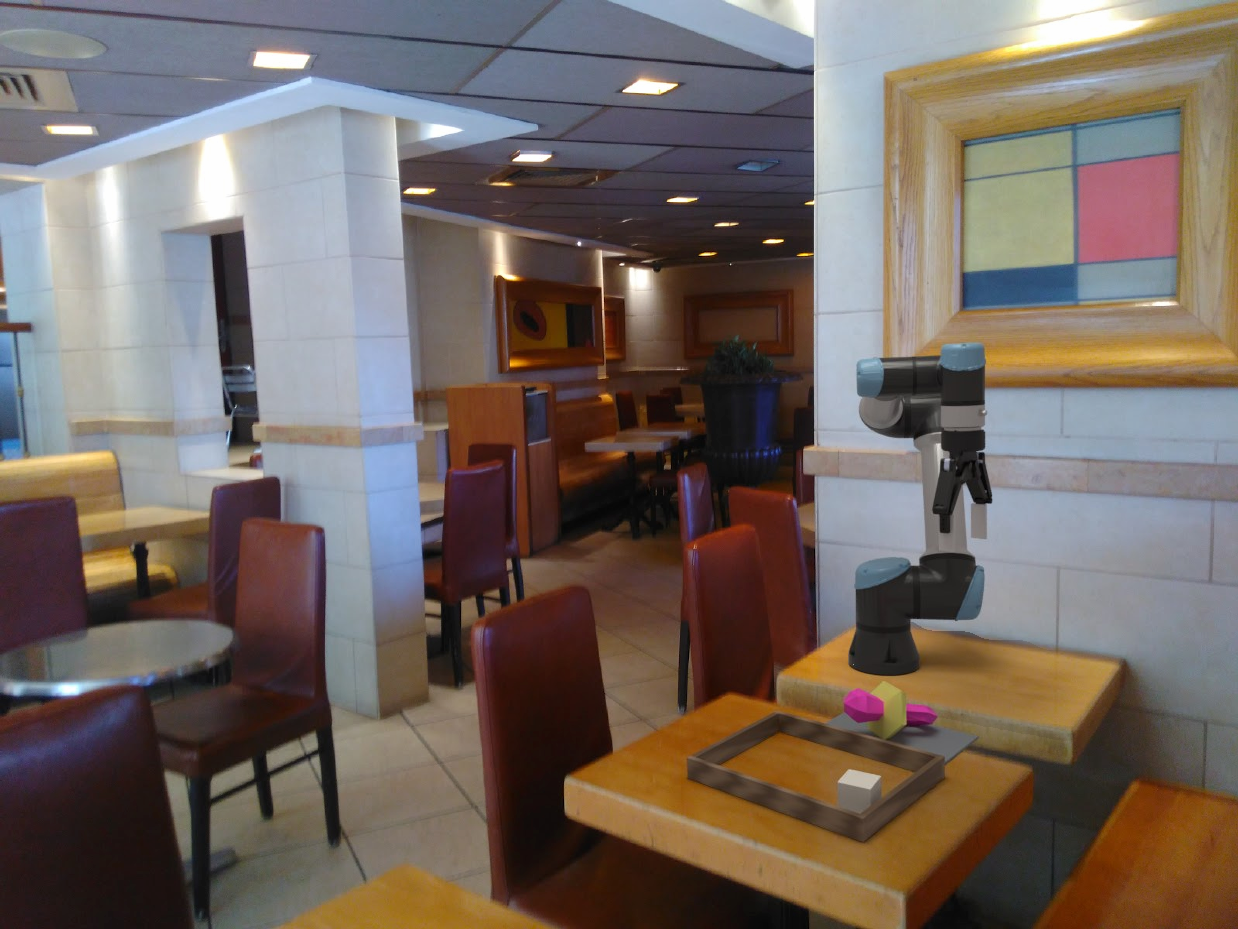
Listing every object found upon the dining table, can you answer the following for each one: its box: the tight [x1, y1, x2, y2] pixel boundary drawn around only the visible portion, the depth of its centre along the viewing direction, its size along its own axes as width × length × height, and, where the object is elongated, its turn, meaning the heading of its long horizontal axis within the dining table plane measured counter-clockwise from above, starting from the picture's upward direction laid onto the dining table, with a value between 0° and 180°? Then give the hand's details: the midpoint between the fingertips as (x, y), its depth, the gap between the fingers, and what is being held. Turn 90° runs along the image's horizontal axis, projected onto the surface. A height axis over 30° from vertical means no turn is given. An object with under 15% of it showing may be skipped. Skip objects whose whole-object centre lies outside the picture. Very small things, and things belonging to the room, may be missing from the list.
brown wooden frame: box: [686, 710, 946, 843], centre depth 146 cm, size 32×26×4 cm
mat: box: [824, 711, 980, 765], centre depth 161 cm, size 24×18×1 cm
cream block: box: [836, 768, 883, 814], centre depth 135 cm, size 5×5×5 cm
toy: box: [843, 680, 939, 740], centre depth 161 cm, size 10×18×10 cm, turn 106°
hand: (963, 544), depth 165 cm, fingers open, 13 cm apart
